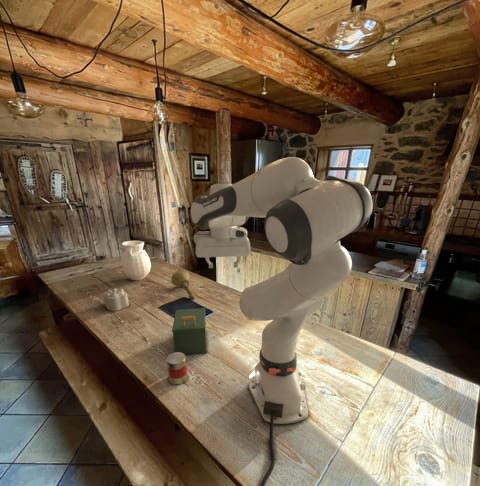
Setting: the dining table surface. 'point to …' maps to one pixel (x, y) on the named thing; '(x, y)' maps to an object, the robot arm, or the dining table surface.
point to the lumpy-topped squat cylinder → (116, 299)
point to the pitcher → (135, 260)
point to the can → (177, 368)
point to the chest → (190, 341)
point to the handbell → (182, 281)
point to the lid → (189, 320)
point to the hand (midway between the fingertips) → (223, 267)
